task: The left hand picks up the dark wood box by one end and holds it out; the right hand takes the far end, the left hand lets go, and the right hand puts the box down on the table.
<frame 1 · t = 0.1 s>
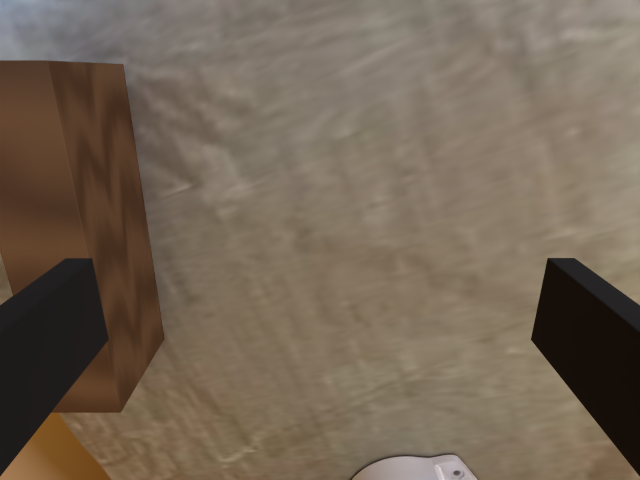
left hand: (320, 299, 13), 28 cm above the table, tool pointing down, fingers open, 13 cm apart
box: (113, 217, 41), on the table
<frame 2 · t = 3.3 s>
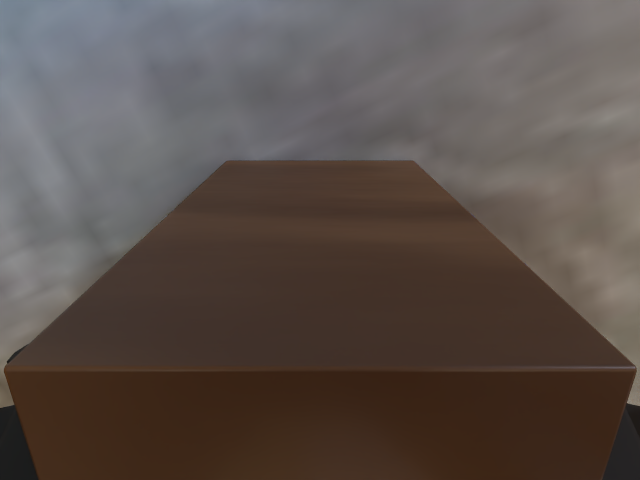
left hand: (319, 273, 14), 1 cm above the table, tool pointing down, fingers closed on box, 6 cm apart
box: (320, 466, 19), on the table, touching left hand
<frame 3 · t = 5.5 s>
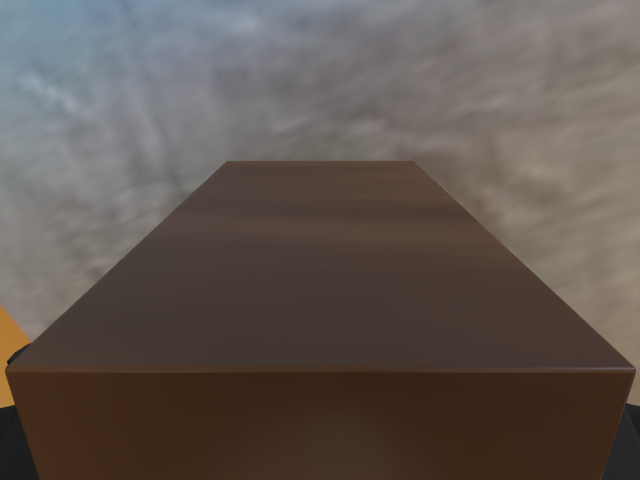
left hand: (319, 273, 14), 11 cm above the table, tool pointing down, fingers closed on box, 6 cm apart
box: (320, 466, 19), point 9 cm above the table, touching left hand
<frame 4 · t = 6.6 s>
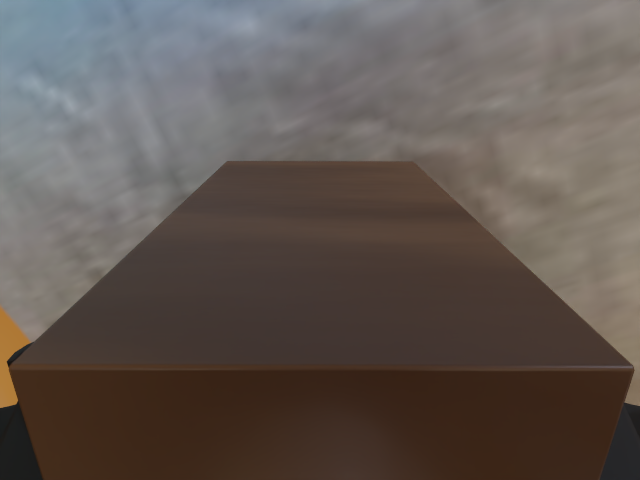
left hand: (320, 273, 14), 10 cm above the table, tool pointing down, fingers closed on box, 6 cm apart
box: (319, 466, 19), point 9 cm above the table, touching left hand, right hand
when the left hand's fingers open (11 cm above the table, at t = 7.7 s): box stays where it is, held by the right hand.
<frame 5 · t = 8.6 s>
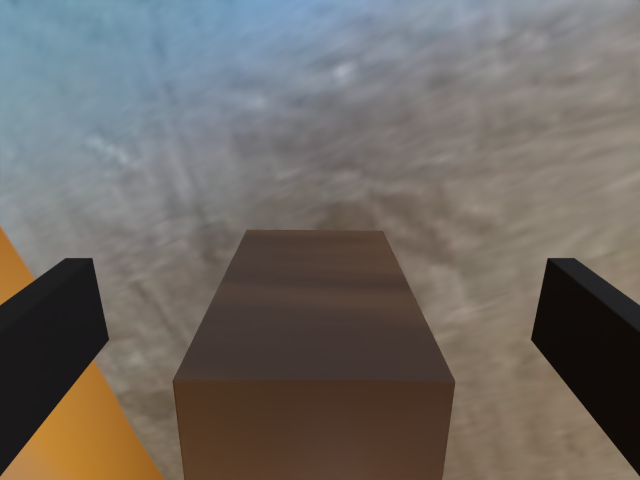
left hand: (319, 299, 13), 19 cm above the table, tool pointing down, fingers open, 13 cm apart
box: (312, 461, 24), point 12 cm above the table, touching right hand
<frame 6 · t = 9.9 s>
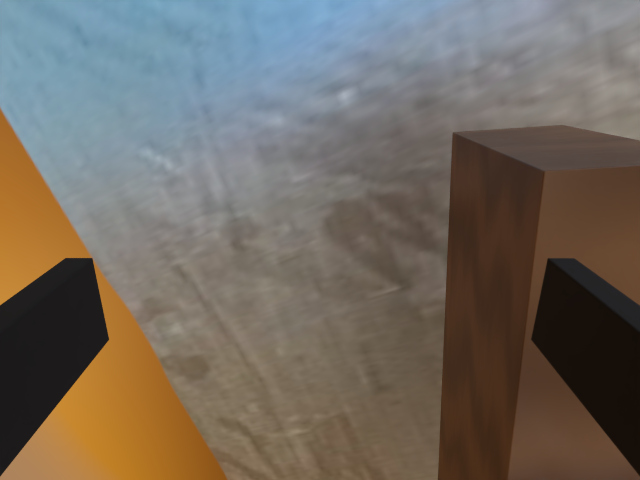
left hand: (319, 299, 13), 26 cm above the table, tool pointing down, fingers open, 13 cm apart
box: (489, 333, 29), point 12 cm above the table, touching right hand
when the right hand's fingers open (7 cm above the table, at t = 13.5 s): box stays where it is, on the table.
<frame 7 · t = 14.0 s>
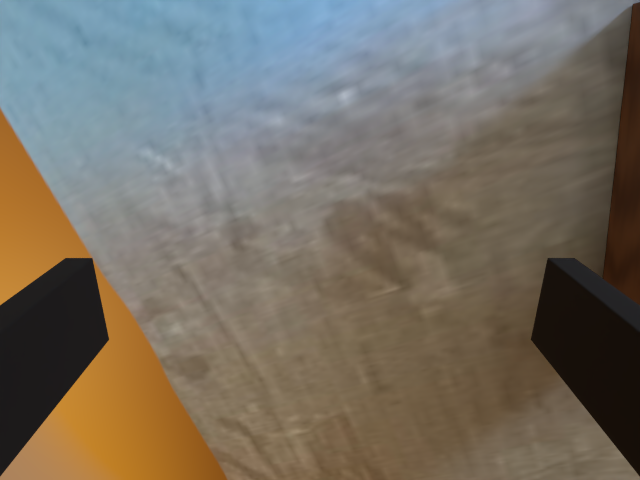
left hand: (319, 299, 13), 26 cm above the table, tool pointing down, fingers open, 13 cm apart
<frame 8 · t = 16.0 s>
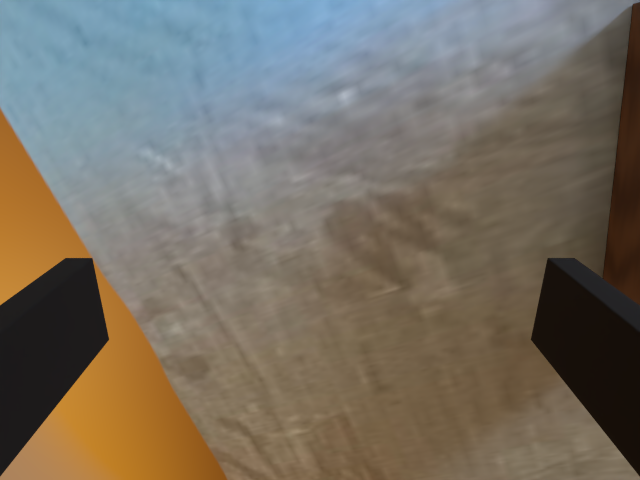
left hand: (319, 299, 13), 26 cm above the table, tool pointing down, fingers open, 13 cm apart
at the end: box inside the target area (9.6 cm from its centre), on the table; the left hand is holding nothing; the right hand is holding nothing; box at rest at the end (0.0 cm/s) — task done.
